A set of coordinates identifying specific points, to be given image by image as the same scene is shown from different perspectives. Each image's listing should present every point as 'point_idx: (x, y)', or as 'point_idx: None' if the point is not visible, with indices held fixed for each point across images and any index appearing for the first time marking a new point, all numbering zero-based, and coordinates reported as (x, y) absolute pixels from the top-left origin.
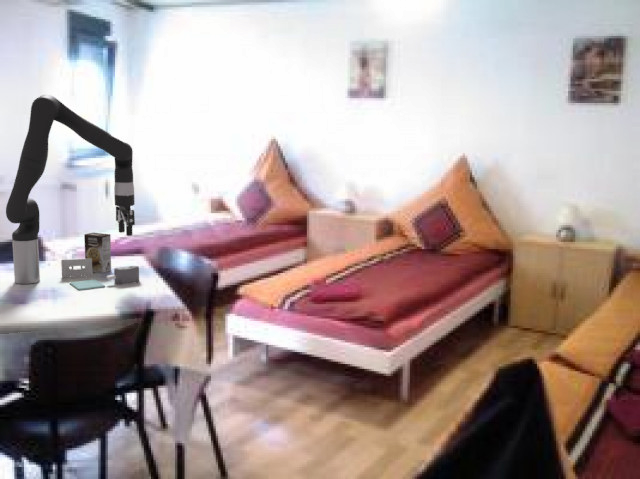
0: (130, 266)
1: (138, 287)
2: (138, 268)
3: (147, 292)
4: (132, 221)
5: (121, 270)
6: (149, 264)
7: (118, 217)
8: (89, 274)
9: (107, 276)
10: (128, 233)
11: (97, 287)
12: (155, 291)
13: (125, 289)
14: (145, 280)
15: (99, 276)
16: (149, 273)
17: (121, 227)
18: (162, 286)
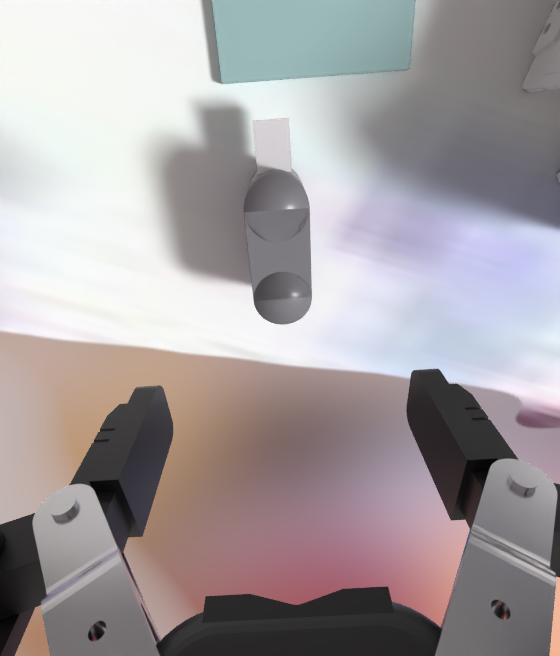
0: (306, 287)
1: (153, 251)
2: (263, 314)
3: (44, 259)
4: (7, 633)
5: (245, 213)
6: (546, 407)
7: (474, 579)
8: (539, 65)
9: (272, 119)
10: (111, 414)
11: (215, 27)
12: (56, 295)
13: (131, 181)
14: None
15: (492, 131)
16: (392, 364)
17: (432, 434)
18: (139, 343)
